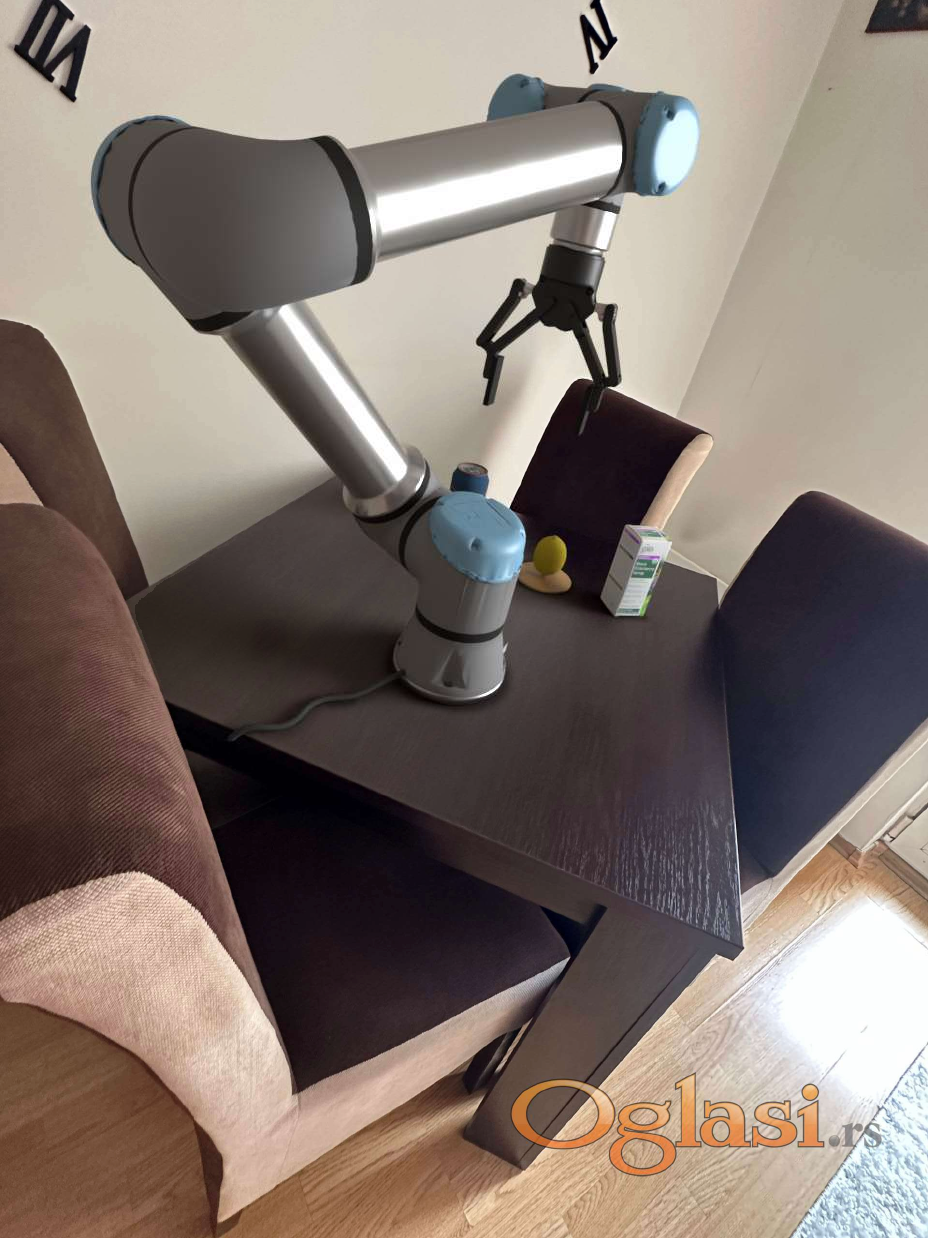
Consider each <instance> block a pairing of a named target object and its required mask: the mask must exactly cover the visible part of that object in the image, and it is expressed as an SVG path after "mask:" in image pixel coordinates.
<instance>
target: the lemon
mask: <svg viewBox="0 0 928 1238" xmlns="http://www.w3.org/2000/svg"><path fill="white" fill-rule="evenodd" d="M566 559H567V547H566V544H565V542H564V541H563V540H562V539H561V538H560V537H559V536H558V535H549V536H546V537H543V538H542V539H541V540H540V541H539V542H538V543H537V545H536V546H535V549H534V552H533V555H532V562H533V563H534V566H535V568H536V570H537V571H538V572H539V573H541V574H542V576H544V577H546V576H549V575H554V574H556V573H557V572H559V571H560V570H561V571H562V569H563V568H564V565H565V564H566V563H565V562H566V561H567V560H566Z"/></svg>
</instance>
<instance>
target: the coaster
mask: <svg viewBox="0 0 928 1238" xmlns="http://www.w3.org/2000/svg"><path fill="white" fill-rule="evenodd" d="M517 581H518V582H520V583H521V584H523V585H524V586H526V587H527V588H529V589H532V590H534V591H536V592H540V593H545V594H551V595H553V594H555V595H556V594H557V595H558V594H563V593H566V592H567V591H569V589H570V588H571V586H572V580H571V578H570V576H569V575H568V574H567V573H566V572H564V571H563V570H562V569H561V570H560V571H559V572H557V573H556V574H554V575H549V576H546V577H544V576H542V574H541V573H539V572H538V571H537V570H536V568H535V566H534V563H533V561H528V562H527V561H526V562H522V567H521V569H520V572H519V575H518V578H517Z"/></svg>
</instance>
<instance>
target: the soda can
mask: <svg viewBox="0 0 928 1238" xmlns="http://www.w3.org/2000/svg"><path fill="white" fill-rule="evenodd" d="M488 473H489V470H488V469H487V468H486V467H485V466H483V465H481V464H478V463H475V462H470V461H469V462H467V461H465V462H460V463H459V462H458V464H457V467H456V468H455V469H454V470H453V472H452V475H451V480H450V485H449V490H450V491H452V492H459V491H465V492H473V493H477V494H481V495H483V496H484V497H485V498H487V493H488V489H489V484H490V478H489V475H488Z"/></svg>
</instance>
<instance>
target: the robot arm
mask: <svg viewBox="0 0 928 1238" xmlns="http://www.w3.org/2000/svg"><path fill="white" fill-rule="evenodd" d="M697 110H698V109H696V107H695V105H694V104H693V102H692V101H691V100H690V99H689V98H687V97H685V96H682V95H675V94H671V93H665V91H663V90H657V92H645V91H634V90H631V89H627V88H625V87H622V86H618V85H614V84H608V83H592V84H590V85H589V86H587V87H578V86H577V87H576V86H564V85H563V86H562V85H554V84H550V83H547V82H544V81H543V80H542V78H540V77H538V76H534V77H532V76H529V75H525V74H523V73H514V74H511V75H509V76H507V77H506V78H504V80H503V81H501V82H500V84H499V85H498V87H497V88H496V89H495V91H494V93H493V95H492V97H491V99H490V102H489V105H488V108H487V112H488V113H487V115H486V120H485V121H481V122H475V123H471V124H465V125H461V126H456V127H451V128H446V129H445V128H444V129H440V130H435V131H430V132H426V133H419V134H415V135H411V136H405V137H399V138H396V139H395V138H394V139H390V140H386V141H381V142H374V143H370V144H364V145H360V146H359V145H358V146H355V147H350V148H347V146H345V145H344V144H343V143H342V142H341V141H340V140H339V139H338V138H337V137H335V136H333V135H330V134H324V135H317V136H311V137H307V138H302V139H301V138H300V139H268V138H267V139H266V138H258V137H257V138H256V137H250V136H245V135H238V134H233V133H228V132H224V131H220V130H215V129H210V128H206V127H201V126H195V125H191V124H190V123H188V122H186V121H184V120H181V119H179V118H176V117H172V116H167V115H159V114H156V115H147V116H144V117H141V118H136V119H131V120H128V121H126V122H124V123H122V124H120V125H118V126H116V127H115V128H114V129H113V130H112V131H111V132H109V133H108V134H107V136H105V138H104V139H103V141H102V142H101V143H100V145H99V147H98V149H97V150H96V153H95V155H94V159H93V162H92V165H91V172H90V191H91V192H90V193H91V200H92V205H93V207H94V211H95V213H96V216H97V219H98V221H99V223H100V225H101V227H102V229H103V231H104V233H105V235H106V237H107V238H108V240H109V241H110V242H111V244H112V245H113V247H114V248H115V249H116V250H117V252H119V254H121V255H122V256H123V257H124V258H125V259H126V260H128V261H129V262H131V263H132V264H133V265H135V266H137V267H139V268H140V269H141V270H142V272H144V274H145V275H146V276H147V278H149V280H150V281H151V282H152V283H153V284H154V285H155V286H156V288H157V289H158V290H159V291H160V293H161V294H163V295H164V297H165V298H166V299H167V300H168V301H169V302H170V304H171V305H172V306H173V307H174V308H175V309H176V311H178V313H179V314H180V315H181V316H182V318H183V319H184V320H185V321H186V323H188V325H189V326H190V327H191V328H192V329H193V330H194V331H195V332H197V333H198V334H201V335H209V336H217V337H218V336H219V337H220V338H221V339H222V340H223V341H224V342H225V343H226V344H227V346H228V347H229V348H230V349H231V350H232V352H233V353H234V355H236V357H237V358H238V359H239V360H240V362H241V363H242V364H243V365H244V366H245V367H246V369H247V370H248V371H249V372H250V374H252V377H254V378H255V380H256V381H257V382H258V383H259V384H260V386H261V387H262V388H263V389H264V391H265V392H266V393H267V394H268V395H269V397H270V398H271V399H272V400H273V402H274V403H275V404H276V405H277V406H278V407H279V409H280V410H281V411H282V412H283V413H284V414H285V416H286V417H287V418H288V419H289V420H290V422H291V423H292V424H293V425H294V427H295V428H296V429H297V430H298V431H299V433H300V434H301V435H302V436H303V438H305V440H306V441H307V442H308V443H309V445H310V446H311V447H312V448H313V449H314V450H315V452H316V453H317V454H318V456H319V457H320V458H321V459H322V460H323V462H324V463H325V464H326V465H327V466H328V468H329V469H330V470H331V471H332V472H333V474H334V475H335V476H336V477H337V478H338V480H339V481H340V483H342V485H343V488H342V499H343V502H344V505H345V506H346V508H347V509H348V511H349V512H350V513H351V516H352V517H353V519H354V521H355V523H356V524H357V526H358V528H359V529H360V531H361V532H362V533H363V534H364V535H365V536H366V537H367V538H368V539H370V540H371V541H372V542H374V543H376V545H378V546H379V547H380V548H382V549H383V550H384V551H385V552H386V553H387V554H388V555H389V556H391V557H392V558H393V559H394V560H395V561H396V562H397V563H398V564H400V565H401V566H402V567H403V568H404V569H405V571H407V572H408V573H409V574H410V575H411V576H412V577H413V578H415V579H416V580H417V582H418V591H417V596H416V603H415V608H414V612H413V614H412V615H411V618H410V619H409V621H408V622H407V624H406V625H405V627H404V628H403V631H402V633H401V634H400V635H399V637H398V639H397V641H396V643H395V646H394V649H393V654H392V668H393V672H394V673H392V674H389V675H387V676H384V677H382V678H381V679H379V680H376V681H375V682H373V683H371V684H369V685H368V686H365V687H363V688H361V689H359V690H357V691H353V692H349V693H341V694H329V695H328V694H327V695H322V696H319V697H316V698H314V699H312V700H310V701H309V702H307V703H306V704H305V705H304V706H302V708H301V709H300V710H299V711H298V712H297V713H296V714H295V715H294V716H292V717H290V719H288V720H286V721H283V722H278V723H250V724H246V725H242V726H240V727H239V728H237V729H235V730H234V731H232V733H231V734H229V736H227V738H226V741H228V742H233V741H236V740H237V739H238V738H240V737H241V736H243V735H244V734H247V733H251V732H278V731H279V732H280V731H283V730H287V729H290V728H291V727H293V726H295V725H296V724H297V723H299V722H300V721H301V720H302V719H303V718H304V717H305V716H306V715H307V714H308V713H309V712H310V710H312V709H313V708H315V707H316V706H318V705H321V704H326V703H331V702H345V701H351V700H355V699H358V698H361V697H363V696H366V695H368V694H370V693H372V692H373V691H375V690H377V689H379V688H381V687H382V686H385V685H387V684H389V683H391V682H393V681H395V680H397V679H398V680H399V681H400V682H401V683H402V684H403V686H404V687H406V688H407V689H408V690H410V691H411V692H412V693H413V694H416V695H418V696H420V697H421V698H422V699H423V698H424V699H426V700H429V701H431V702H435V703H439V704H442V705H448V706H449V705H450V706H470V705H475V704H479V703H483V702H485V701H487V700H489V699H491V698H492V697H494V696H495V695H496V694H497V693H498V692H499V690H500V689H501V688H502V685H503V682H504V679H505V675H506V668H507V664H506V662H507V661H506V657H505V652H506V650H507V647H508V643H509V642H507V643H506V644H505V645H504V635H503V634H504V633H503V631H504V627H505V623H506V621H507V616H508V613H509V610H510V605H511V601H512V598H513V595H514V592H515V589H516V585H517V582H518V575H519V572H520V569H521V567H522V563H524V562H523V561H524V552H525V547H526V540H527V539H526V538H527V537H526V530H525V527H524V525H523V523H522V521H521V519H520V518H519V516H518V515H517V514H516V513H515V512H514V511H513V510H512V509H511V508H509V507H508V506H507V505H505V504H503V503H502V502H501V501H499V500H496V499H495V498H492V497H491V498H487V497H486V498H485V497H484V496H483V495H481V494H477V493H473V492H465V491H459V492H452V491H450V488H448V487H446V486H445V485H444V484H443V483H442V481H440V479H439V478H438V477H437V475H436V473H435V471H434V470H433V469H432V467H431V466H430V464H429V462H428V460H427V459H426V458H425V457H424V455H423V453H422V452H421V451H420V449H419V448H418V447H416V446H415V445H413V444H410V443H407V442H400V440H399V439H398V437H397V436H396V434H395V433H394V431H393V430H392V428H391V427H390V426H389V424H388V422H387V420H386V419H385V418H384V417H383V415H382V413H381V412H380V410H379V409H378V407H377V406H376V404H375V403H374V401H373V400H372V398H371V397H370V395H369V394H368V392H367V390H366V389H365V387H364V386H363V385H362V383H361V382H360V380H359V378H358V377H357V376H356V374H355V373H354V371H353V370H352V368H351V367H350V365H349V364H348V363H347V361H346V359H345V358H344V356H343V355H342V353H341V352H340V350H339V349H338V347H337V346H336V345H335V343H334V341H333V340H332V338H331V337H330V335H329V334H328V332H327V331H326V329H325V327H324V326H323V324H322V323H321V321H320V320H319V318H318V317H317V315H316V313H314V311H313V310H312V308H311V307H310V305H309V304H308V302H307V301H306V300H309V299H311V298H315V297H319V296H322V295H325V294H329V293H333V292H336V291H339V290H342V289H345V288H348V287H352V286H355V285H359V284H362V283H364V282H367V280H368V279H369V278H370V277H371V276H372V273H373V272H374V268H375V266H376V264H379V263H383V262H386V261H389V260H393V259H397V258H400V257H403V256H407V255H410V254H413V253H417V252H420V251H424V250H429V249H431V248H434V247H439V246H441V245H445V244H448V243H451V242H456V241H459V240H462V239H465V238H470V237H473V236H477V235H479V234H483V233H487V232H490V231H493V230H497V229H501V228H504V227H508V226H511V225H515V224H517V223H521V222H525V221H529V220H532V219H536V218H539V217H542V216H547V215H549V214H553V213H554V214H553V215H554V216H553V219H552V222H551V223H552V224H551V227H550V230H549V238H551V239H552V243H548V245H547V246H546V248H545V252H544V257H543V260H542V264H541V268H540V272H539V277H538V280H537V282H536V283H535V284H533V283H531V282H529V281H528V280H527V279H526V278H525V277H524V278H523V277H517V278H514V279H513V281H512V283H511V287H510V290H509V293H508V295H507V296H506V298H505V299H504V301H503V302H502V304H501V305H500V306H499V307H498V309H497V310H496V312H494V315H493V316H492V317H491V319H489V321H488V323H486V325H485V327H484V328H483V329H482V330H481V332H480V333H479V335H478V336H477V337H476V339H475V344H476V346H477V347H480V348H481V349H483V350H484V351H485V352H486V357H485V361H484V366H483V370H482V378H483V379H486V380H487V382H486V387H485V392H484V395H483V401H482V405H483V406H485V407H489V406H491V405H493V404H494V403H495V399H496V396H497V391H498V387H499V384H500V383H499V382H500V379H501V374H502V369H503V367H504V366H503V365H504V361H505V358H506V357H505V355H501V353H502V351H503V350H505V349H506V348H507V347H508V346H510V345H511V344H512V343H513V342H515V341H516V340H517V339H519V338H520V337H522V335H523V334H525V333H527V331H529V330H530V329H531V328H532V327H534V326H535V325H536V324H538V323H539V322H540V323H541V324H542V325H543V326H544V327H547V328H556V329H557V330H559V331H561V332H566V333H567V332H571V331H572V333H573V336H574V338H575V339H576V341H577V343H578V346H579V348H580V351H581V354H582V357H583V359H584V361H585V365H586V367H587V369H588V372H589V374H590V377H591V379H592V382H593V383H590V384H589V385H587V388H586V390H585V393H584V397H583V401H582V404H581V407H580V410H579V413H578V417H577V420H576V422H575V426H574V430H573V434H572V435H573V436H578V437H579V436H580V435H581V434H583V432H584V429H585V426H586V423H587V421H588V416H589V414H590V413H595V412H597V410H598V409H599V407H600V405H601V402H602V398H603V395H604V391H605V389H607V388H617V386H620V384H621V383H622V381H623V378H622V369H621V362H620V353H619V345H618V337H617V329H616V320H617V316H618V312H619V306H618V304H616V303H614V302H611V303H604V302H597V293H598V289H599V286H600V282H601V279H602V275H603V272H604V268H605V265H606V262H607V261H606V259H605V258H606V257H604V256H603V255H604V253H607V252H608V251H610V248H611V244H612V241H613V237H614V234H615V231H616V227H617V224H618V220H619V218H620V212H621V209H622V203H623V201H624V198H625V194H628V193H629V194H637V195H638V196H639V197H642V198H644V197H665V196H668V195H670V194H672V193H674V192H675V191H676V190H677V189H678V188H680V187H681V185H682V184H683V183H684V181H685V180H686V179H687V177H688V175H689V174H690V172H691V170H692V168H693V166H694V163H695V161H696V157H697V154H698V145H699V138H700V136H701V125H700V124H701V123H700V117H699V114H698V111H697ZM529 295H531V297H532V301H533V304H534V308H533V309H532V310H531V311H529V312H528V313H527V314H526V315H525V316H524V317H523V318H522V319H521V320H519V321H518V322H517V323H516V324H514V326H512V327H511V328H510V329H508V330H507V331H506V332H505V333H503V334H502V335H501V336H500V337H498V338H497V339H495V340H493V339H494V338H495V337H496V335H497V334H498V333H499V331H500V330H501V328H502V327H503V326H504V325H505V323H506V322H507V321H508V319H509V318H510V317H511V315H512V314H513V313H514V311H515V310H516V309H517V307H518V306H519V304H520V303H521V301H522V300H526V299H527V298H528V296H529ZM594 313H596V314H597V319H598V321H599V322H600V323H601V330H602V339H603V347H604V354H605V361H606V369H607V375H606V372H605V370H604V367H603V365H602V362H601V359H600V357H599V354H598V352H597V350H596V346H595V344H594V341H593V339H592V336H591V333H590V331H591V330H590V328H589V326H588V323H587V319H588V318H590V317H591V316H592V315H593V314H594Z"/></svg>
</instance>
